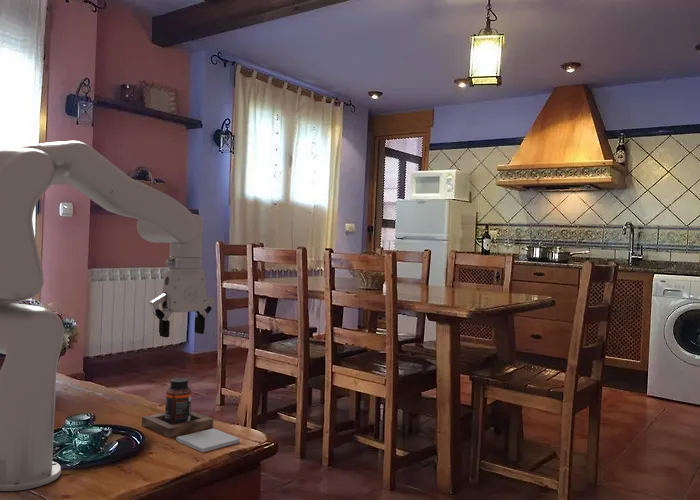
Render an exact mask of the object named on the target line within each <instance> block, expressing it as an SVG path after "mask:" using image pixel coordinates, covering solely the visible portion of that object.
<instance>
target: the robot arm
mask: <svg viewBox="0 0 700 500" xmlns="http://www.w3.org/2000/svg"><path fill="white" fill-rule="evenodd" d="M52 185H53V186H54V185H68V186H69V187H71V188H73V189H74V190H76V191H78V192H79V193H81V194H82V195H84V196H85V197H87V198H88V199H89V200H90V201H92V202H94V204H97V205H98V206H100V207H101V208H102V209H104V210H105V211H107V212H109V213H112V214H115V215H118V216H121V217H126V218H127V217H128V218H132V219H137V222H136V230H137V233H138V235H139V236H140V237H141V238H142V239H143V240H145V241H147V242H150V243H156V244H158V243H159V244H169V256H168V259H165V260H164V264H165V266H168V267H167V268H168V269H166V271H165V275H164V279H163V284H162V289H161V290H162V291H161V295H159V296H158V297H156V298H154V299H152V300H151V301H149V305H150V308H151V310H152V313H153V314H154V315H155V316H156V318H157V320H159V321H158V332H159V336H160V337H162V338H169V337H170V331H171V330H170V327H171V326H170V325H171V321H170V320H168V319H169V318H170V317H171V315H172V314H173V313H190V312H191V313H193V312H194V313H195V314H196V316H195V317H194V333H195V334H200V335H204V334H205V326H206V318H207V317H208V314H209V313H210V312H211V311H212V307H213V306H214V303H215V302H216V301H215V299H214V298H213V297H211V296H210V295H208V294H207V282H206V275H205V271H204V270H202V252H203V251H202V250H203V228H204V227H203V225H204V220H203V217H202V216H201V215H199V214H195V213H192V212H191V211H190V210H189V209H188V208H187V207H186V206H184V205H183V204H182V203H181V202H179V201H178V200H177V199H176V198H173V196H170V195H169V194H167V193H164V192H163V191H161V190H158V189H156V188H153V187H151V186H150V185H148V184H145V183H143V182H140V181H138V180H136V179H133V178H132V177H130V176H129V175H128V174H126V173H125V172H124V171H123V170H121V169H120V168H119V167H117V166H116V165H115V164H113V162H111V161H110V160H108V159H107V158H106V156H104V155H102V154H101V153H99V151H97V150H96V149H95V148H94V147H92V146H90V145H89V144H87V143H84V142H81V141H79V140H66V141H64V140H63V141H51V142H44V143H43V142H42V143H38V144H37V143H36V144H33V145H32V144H31V145H27V146H26V145H23V146H18V147H9V148H1V149H0V354H1V355H5V358H4V361H3V364H2V365H1V368H0V492H18V491H25V490H30V489H35V488H39V487H42V486H44V485H47V484H51V483H52V482H54V481H55V480H57V479H58V478H59V477H60V476H61V474H62V466H61V465H60V464H59V463H58V462H56V461H53V454H54V434H55V433H54V432H55V415H56V414H55V412H56V394H57V393H56V391H57V390H56V387H57V372H58V365H59V359H60V355H61V352H62V351H61V350H62V348H63V344H64V339H65V337H64V336H65V328H64V324H63V321H62V319H61V318H60V316H59V315H58V314H56V312H54V311H53V310H51V309H49V308H46V307H43V306H39V305H32V304H27V303H26V304H25V303H19V302H24V301H28V300H32V299H34V298H35V297H37V296H38V295H39V293H41V291H42V290H43V286H44V282H45V281H44V270H43V266H42V262H41V258H40V252H39V249H38V246H37V245H38V244H37V242H36V236H35V231H34V225H33V216H34V211H35V208H36V206H37V204H38V201H39V200H40V198H41V197H42V196H43V195H44V194H45V193H46V191H47V190H48V189H49V188H50V187H51V186H52ZM160 304H161V309H160Z"/></svg>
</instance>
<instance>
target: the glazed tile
mask: <svg viewBox="0 0 700 500" xmlns="http://www.w3.org/2000/svg"><path fill="white" fill-rule="evenodd" d="M175 437H176V442H178V443H180V444H183V445H185V446H188V447H189V448H192V449H194V450H196V451H199V452H200V453H206V452H210V451H212V450H213V451H214V450H216V449H219V448H220V449H221V448H224V447H228V446H231V445H235V444H239V443H241V438H239V437H236V436H234V435H231V434H229V433H226V432H224V431H221V430H219V429H217V428H214V427H212V428H208V429H203V430H199V431H195V432H191V433H189V434H188V433H187V434H183V435H178V436H175Z"/></svg>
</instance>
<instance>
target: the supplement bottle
mask: <svg viewBox="0 0 700 500" xmlns="http://www.w3.org/2000/svg"><path fill="white" fill-rule="evenodd" d="M188 380H189V379H188V378H184V377H182V378H181V377H178V378H177V377H176V378H171V380H170V386H169V387H168V388H167V390H166V393H165V410H164V411H165V422H167V423H169V424H171V425H174V424H179V423H183V422H188V421H190V416H191V411H192V410H191V409H192V389H191V387H189V386H188V385H189V383H188Z"/></svg>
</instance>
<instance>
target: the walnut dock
mask: <svg viewBox="0 0 700 500" xmlns="http://www.w3.org/2000/svg"><path fill="white" fill-rule="evenodd" d="M141 426H143V427H144V428H148V429H149V430H152V431H154V432H156V433H158V434H161V435H163V436H165V437H166V438H173V437H178V436H182V435H187V434H188V433H189V434H191V433H195V432H199V431H204V430H208V429H212V428H214V418H212V417H209V416H207V415H204V414H201V413H198V412H196V411H193V410H191V416H190V421H188V422H183V423H179V424H174V425H171V424H169V423H167V422H165V412H160V413H154V414H150V415H144V416H142V417H141Z"/></svg>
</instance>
